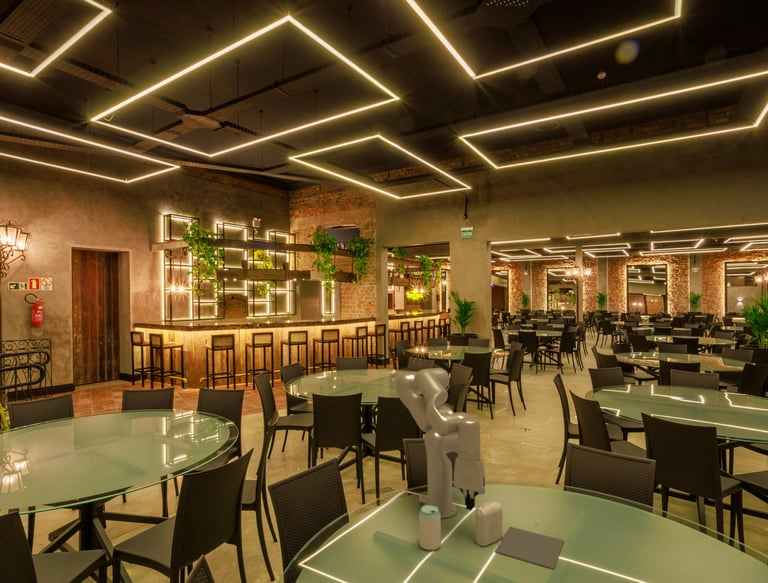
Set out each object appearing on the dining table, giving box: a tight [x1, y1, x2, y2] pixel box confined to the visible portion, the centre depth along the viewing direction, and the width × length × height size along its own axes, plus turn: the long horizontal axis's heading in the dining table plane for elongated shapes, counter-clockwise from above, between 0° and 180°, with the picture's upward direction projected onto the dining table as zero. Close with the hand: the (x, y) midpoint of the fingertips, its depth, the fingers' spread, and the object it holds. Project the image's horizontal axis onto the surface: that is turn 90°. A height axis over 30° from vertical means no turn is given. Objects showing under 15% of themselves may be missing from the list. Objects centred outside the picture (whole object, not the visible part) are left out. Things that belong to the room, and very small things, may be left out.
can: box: [418, 504, 442, 551], centre depth 143 cm, size 7×7×12 cm
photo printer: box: [475, 501, 504, 547], centre depth 146 cm, size 10×4×12 cm, turn 124°
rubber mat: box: [494, 526, 565, 570], centre depth 142 cm, size 18×18×1 cm
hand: (470, 508), depth 150 cm, fingers closed
